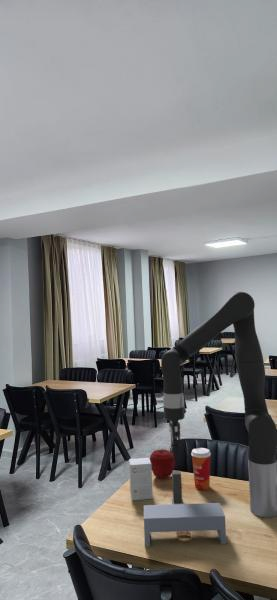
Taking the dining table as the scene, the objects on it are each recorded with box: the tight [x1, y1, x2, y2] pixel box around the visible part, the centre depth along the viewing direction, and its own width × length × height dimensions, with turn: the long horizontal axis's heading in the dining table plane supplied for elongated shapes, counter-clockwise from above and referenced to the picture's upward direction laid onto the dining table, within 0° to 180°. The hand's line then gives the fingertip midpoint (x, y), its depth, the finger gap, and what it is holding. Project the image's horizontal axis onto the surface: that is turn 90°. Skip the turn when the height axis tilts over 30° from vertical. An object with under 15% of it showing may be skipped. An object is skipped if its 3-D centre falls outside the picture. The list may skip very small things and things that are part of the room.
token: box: [176, 531, 192, 543], centre depth 117 cm, size 4×4×1 cm
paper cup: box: [190, 447, 212, 491], centre depth 152 cm, size 8×8×14 cm
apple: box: [149, 448, 176, 480], centre depth 162 cm, size 11×11×12 cm
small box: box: [128, 457, 154, 501], centre depth 146 cm, size 8×6×13 cm
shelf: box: [143, 502, 227, 547], centre depth 117 cm, size 24×8×8 cm, turn 90°
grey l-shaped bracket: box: [171, 470, 185, 504], centre depth 131 cm, size 4×18×11 cm, turn 179°
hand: (175, 450), depth 139 cm, fingers open, 8 cm apart
